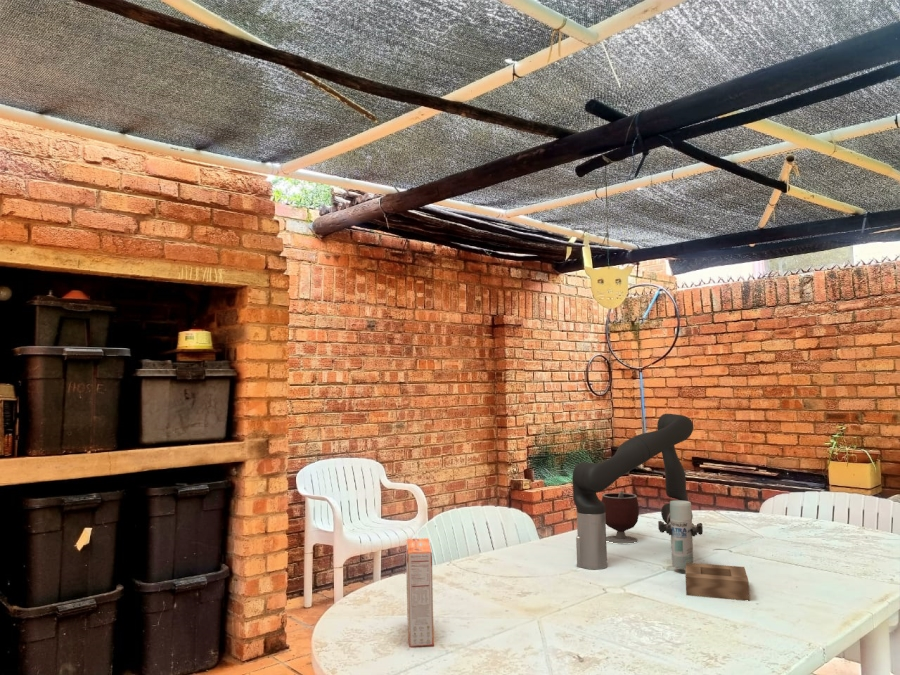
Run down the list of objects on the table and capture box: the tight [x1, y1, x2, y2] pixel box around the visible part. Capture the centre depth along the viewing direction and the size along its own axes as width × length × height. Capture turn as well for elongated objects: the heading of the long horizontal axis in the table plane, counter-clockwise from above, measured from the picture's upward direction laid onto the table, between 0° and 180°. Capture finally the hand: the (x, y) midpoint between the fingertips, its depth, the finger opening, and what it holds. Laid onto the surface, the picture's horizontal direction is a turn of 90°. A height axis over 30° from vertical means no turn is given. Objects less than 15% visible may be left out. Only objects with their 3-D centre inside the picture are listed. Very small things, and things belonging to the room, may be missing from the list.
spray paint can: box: [669, 499, 694, 570], centre depth 202 cm, size 6×6×20 cm
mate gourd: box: [601, 490, 640, 544], centre depth 246 cm, size 16×14×20 cm
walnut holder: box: [685, 562, 751, 602], centre depth 182 cm, size 16×16×5 cm
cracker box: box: [405, 537, 435, 648], centre depth 150 cm, size 14×6×21 cm, turn 5°
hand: (681, 532), depth 200 cm, fingers closed on spray paint can, 6 cm apart
